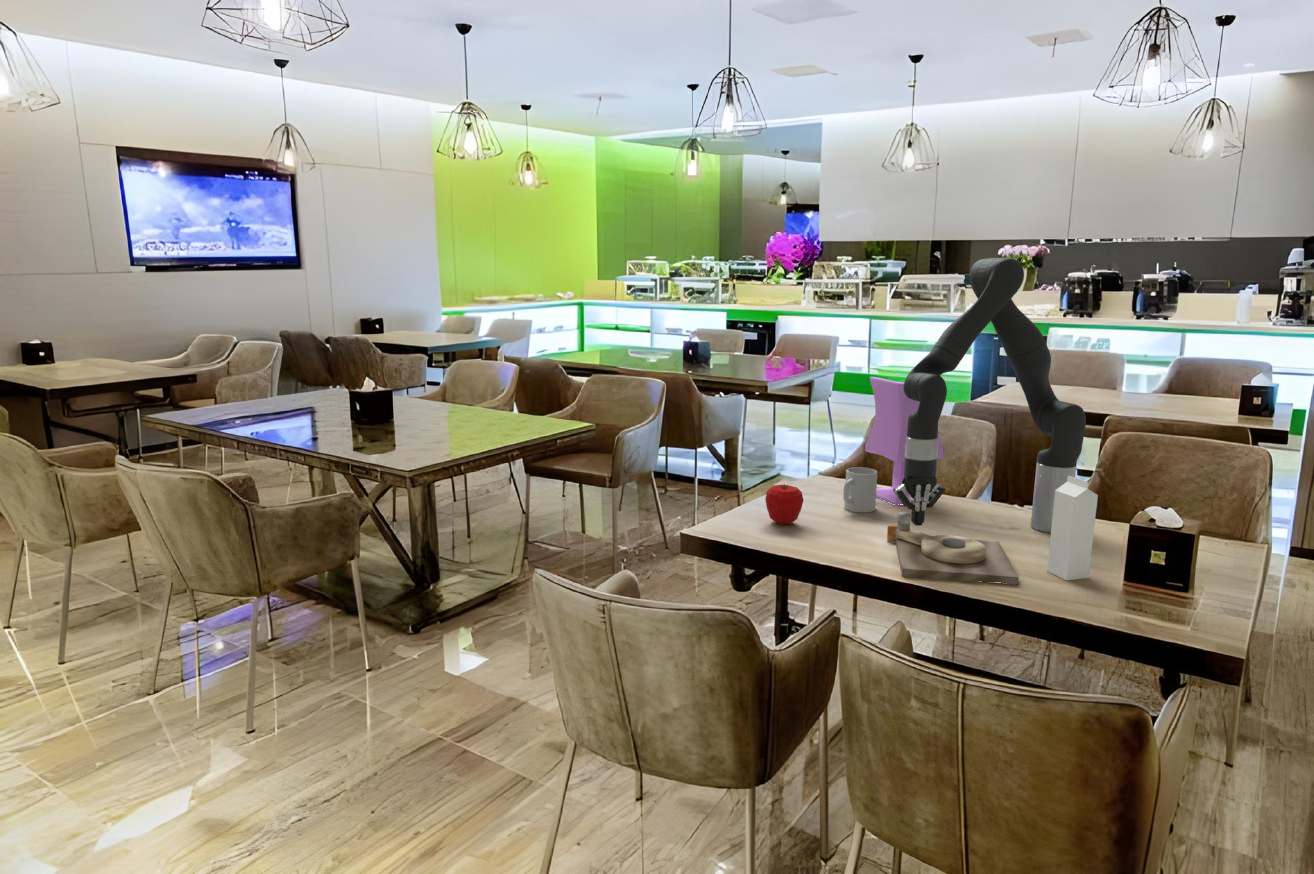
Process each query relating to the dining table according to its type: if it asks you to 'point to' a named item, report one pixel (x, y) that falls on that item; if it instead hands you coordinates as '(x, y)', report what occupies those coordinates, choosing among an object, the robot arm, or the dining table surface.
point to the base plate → (922, 566)
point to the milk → (1072, 530)
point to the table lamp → (892, 431)
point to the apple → (784, 503)
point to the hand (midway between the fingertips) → (917, 524)
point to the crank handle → (941, 544)
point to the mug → (860, 489)
